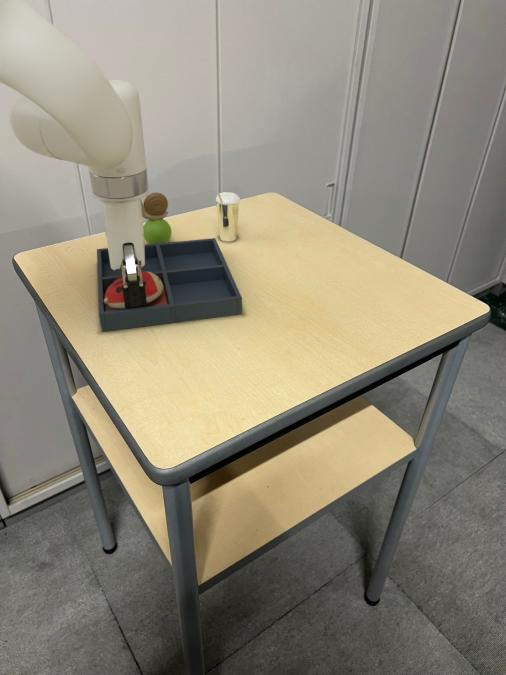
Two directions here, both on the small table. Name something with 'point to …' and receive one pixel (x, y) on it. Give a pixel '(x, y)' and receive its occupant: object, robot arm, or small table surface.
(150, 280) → the ladybug figurine
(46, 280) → the small table surface
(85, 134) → the robot arm
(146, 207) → the snail figurine
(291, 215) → the small table surface
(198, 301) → the four-compartment sorting tray
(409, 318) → the small table surface
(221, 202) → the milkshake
